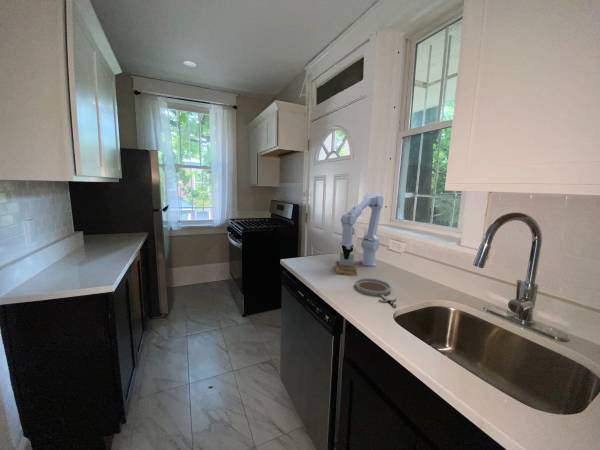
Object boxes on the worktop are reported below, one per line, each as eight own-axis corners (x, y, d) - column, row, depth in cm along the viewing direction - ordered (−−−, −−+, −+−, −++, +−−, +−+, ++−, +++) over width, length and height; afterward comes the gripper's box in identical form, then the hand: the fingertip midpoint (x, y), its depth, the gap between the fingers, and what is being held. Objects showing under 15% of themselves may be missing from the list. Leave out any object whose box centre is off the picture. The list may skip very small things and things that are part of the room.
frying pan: (376, 304, 100) (349, 278, 127) (376, 311, 101) (349, 283, 128) (414, 301, 104) (380, 276, 131) (413, 308, 104) (379, 281, 131)
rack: (334, 266, 153) (335, 260, 153) (353, 267, 153) (353, 261, 152) (336, 274, 140) (337, 268, 139) (356, 275, 139) (357, 268, 139)
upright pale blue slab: (338, 264, 147) (339, 252, 146) (352, 265, 147) (353, 253, 146) (339, 265, 145) (340, 253, 144) (353, 266, 144) (354, 254, 143)
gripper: (339, 232, 150) (337, 254, 153) (341, 237, 136) (340, 261, 138) (350, 233, 150) (349, 255, 152) (354, 238, 136) (353, 262, 138)
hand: (345, 258), depth 145 cm, fingers closed on upright pale blue slab, 2 cm apart
